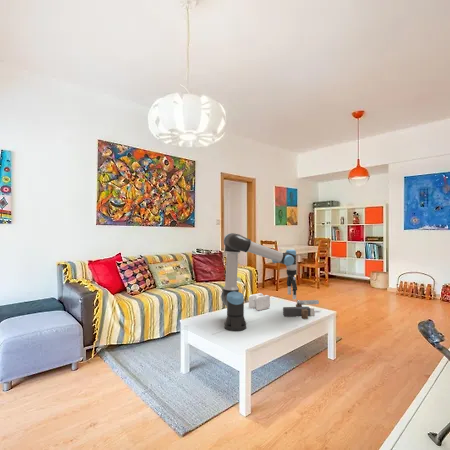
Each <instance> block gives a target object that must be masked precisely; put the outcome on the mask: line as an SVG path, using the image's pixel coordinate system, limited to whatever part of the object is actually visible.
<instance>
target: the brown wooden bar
mask: <svg viewBox="0 0 450 450" xmlns="http://www.w3.org/2000/svg"><path fill="white" fill-rule="evenodd" d="M295 307H303V305H297V303H296V304H295ZM300 317H301V319H303V320H308V319H309V316H308V310H307V309H301V316H300Z"/></svg>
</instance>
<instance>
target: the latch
mask: <svg viewBox="0 0 450 450" xmlns="http://www.w3.org/2000/svg"><path fill="white" fill-rule="evenodd" d="M319 301H320V300H318V299H309V300H308V299H303V300H300V299H296V304H297V305H302V306H304V305H306V306H307V305H319V304H320V302H319Z"/></svg>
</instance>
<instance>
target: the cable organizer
mask: <svg viewBox="0 0 450 450" xmlns="http://www.w3.org/2000/svg"><path fill="white" fill-rule="evenodd" d="M270 306H271V296H270V295H268V294H265V295H264V294H263V293H262V292H259V293H254V294H250V295H249V296H248V308H250V309H255V310H257V311H264V310H268V309H270Z"/></svg>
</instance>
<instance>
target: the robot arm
mask: <svg viewBox="0 0 450 450" xmlns="http://www.w3.org/2000/svg"><path fill="white" fill-rule="evenodd" d="M223 244H224V252H225V254H226V260H225V261H226V263H225V282H224V283H225V284H224V286H223V287H222V292H221V296H220V298H221V301H222V303H223V304H224V306H225V307H226V319H225V321H224V329H225V330H228V331H232V332H241V331H244V330H245V329H247V321H246V319H245V314H244V313H245V310H244V309H245V307H244V306H245V305H244V304H245V303H244V301H245V298H244V294H243V293H242V292H240V291H239V287H238V286H237V285H238V266H239V254H240V253H241V252H244V253H250V254H254V255H257V256H260V257H263V258H265V259H268V260H270V261H271V262H272V263H274V264H282V265H285V267H286V275H287V278H286V286H287V295H288V296H289V295H292V300H297V291H298V286H297V277H296V276H295V275H297V250H295V249H286V251H285V252H282V251H278V250H276V249H273V248H270V247H267V246H265V245H262V244H261V243H260V244H259V243H257V242H254V241H252V240H251V238H248V237H245V236H243V235H242V234H239V233H232V232H231V233H228V234H226V235H225V236H224V238H223Z"/></svg>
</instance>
